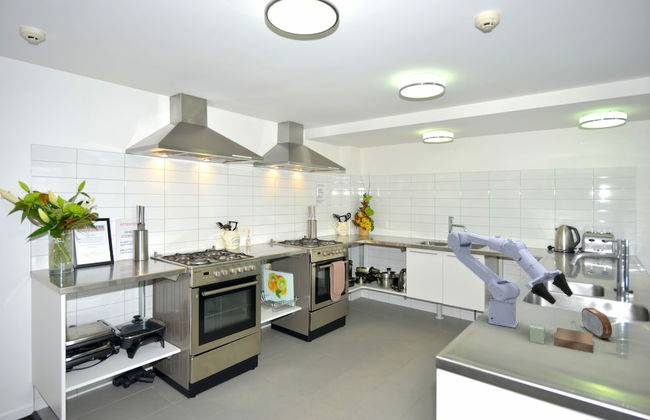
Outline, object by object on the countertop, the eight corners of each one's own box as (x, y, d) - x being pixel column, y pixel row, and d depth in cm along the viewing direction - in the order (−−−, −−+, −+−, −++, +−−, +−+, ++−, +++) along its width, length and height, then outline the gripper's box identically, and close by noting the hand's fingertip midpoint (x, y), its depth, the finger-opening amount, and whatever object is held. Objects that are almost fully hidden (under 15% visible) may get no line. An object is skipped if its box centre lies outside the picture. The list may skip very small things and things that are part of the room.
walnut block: (554, 346, 117) (554, 337, 117) (557, 335, 126) (557, 327, 126) (592, 354, 111) (592, 345, 111) (592, 342, 120) (592, 333, 120)
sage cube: (530, 341, 120) (530, 327, 120) (531, 338, 123) (531, 323, 123) (543, 344, 118) (543, 329, 118) (545, 340, 121) (545, 326, 121)
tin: (613, 342, 119) (613, 317, 119) (602, 341, 120) (602, 316, 120) (589, 327, 134) (589, 305, 134) (579, 326, 135) (580, 304, 135)
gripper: (521, 267, 124) (552, 300, 115) (553, 255, 128) (584, 285, 119) (513, 278, 129) (542, 310, 120) (544, 266, 133) (574, 296, 124)
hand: (562, 299), depth 120 cm, fingers open, 7 cm apart
